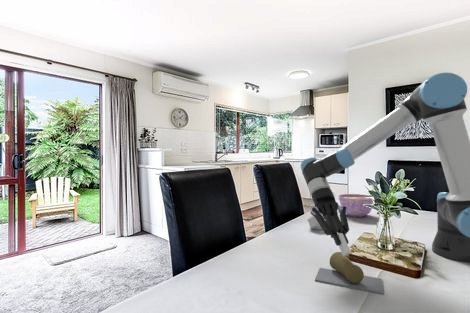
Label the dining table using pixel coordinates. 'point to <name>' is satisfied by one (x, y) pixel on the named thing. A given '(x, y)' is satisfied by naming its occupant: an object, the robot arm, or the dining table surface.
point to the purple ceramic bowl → (355, 204)
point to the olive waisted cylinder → (346, 268)
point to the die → (314, 223)
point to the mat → (339, 279)
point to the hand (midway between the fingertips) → (347, 254)
